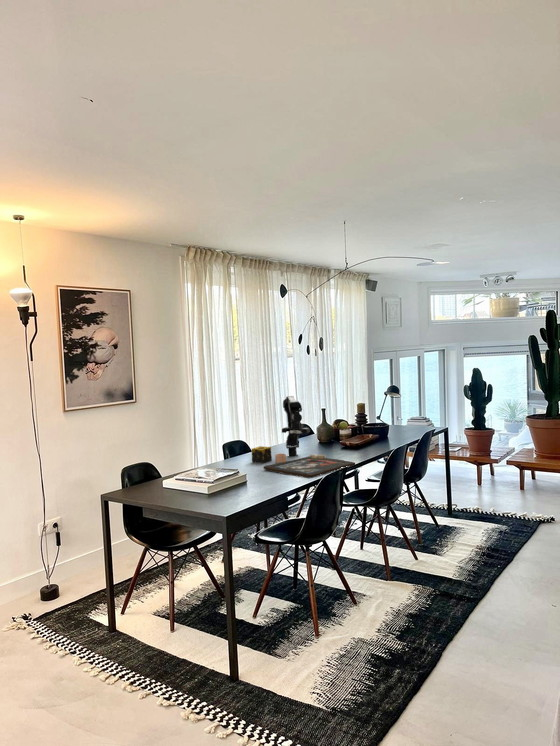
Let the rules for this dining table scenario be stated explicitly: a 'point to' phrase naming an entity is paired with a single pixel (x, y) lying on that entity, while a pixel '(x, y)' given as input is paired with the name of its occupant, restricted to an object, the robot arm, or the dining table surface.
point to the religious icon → (308, 466)
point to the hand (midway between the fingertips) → (296, 443)
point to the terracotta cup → (280, 458)
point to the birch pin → (318, 457)
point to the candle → (261, 454)
